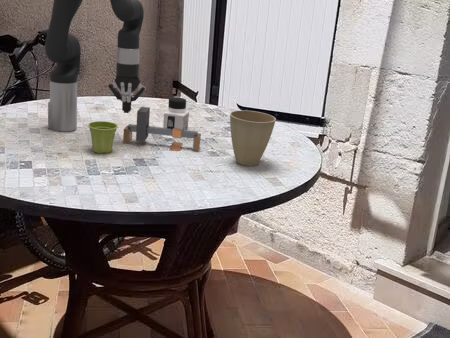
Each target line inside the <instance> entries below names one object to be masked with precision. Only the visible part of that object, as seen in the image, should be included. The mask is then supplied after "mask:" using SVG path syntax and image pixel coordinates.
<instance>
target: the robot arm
mask: <svg viewBox="0 0 450 338" xmlns="http://www.w3.org/2000/svg"><path fill="white" fill-rule="evenodd" d="M83 1H84V0H53V3H52V4H53V5H52V10H51V17H50V21H49V25H48V30H47V33H46V37H45V42H44V52H45V55H46V58H47V59H48V60H49V61H50V62H52V63H56V66H55V67H54V68H53V70H51V71H50V73H49V101H48V103H47V128H48V130H53V131H56V132H72V131H76V130H77V128H78V127H77V125H78V77H79V74H80V69H81V57H82V56H81V55H82V54H81V53H82V52H81V51H82V50H81V44H80V41H79V39H78V37H76V36H75V35H74V34H71V33H70V27H71V23H72V22H73V19H74V17H75V15H76V14H77V12H78V10H79V9H80V7H81V5H82V3H83ZM109 2H110V6H111V8H112V12H113V13H114V15H115V17H116V18H117V19H118V20H119V21H121V22H123V25H122V27H121V29H119V30H118V32H117V45H116V47H117V48H116V61H115V63H116V68H115V69H116V70H115V79H114V81H112V82H111V83H109V84H108V85H107V86H108V89H109V90H110V91H111V93H112V94H113V95H114V97H115V98H116V99H117V100H120V101H121V103H122V105H121V106H122V107H121V110H122V112H123V113H124V114H125V113H126V114H129V113H130V112H131V110H132V103H133V102H135V101H137V100H138V99H139V97H140V96H141V95H142V94H143V93H144V92H145V91H146V89H147V87H146V86H145V85H143V84H142V83H141V79H140V62H141V61H140V59H141V58H140V34H141V31H142V26H143V22H144V16H145V12H144V11H145V10H144V5H143V3H142V2H141V1H140V0H109ZM136 89H137V91H138V92H137V93H136V94H135V95H134V92H135V91H136ZM119 90H120V92H119ZM133 95H134V96H133Z"/></svg>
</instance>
